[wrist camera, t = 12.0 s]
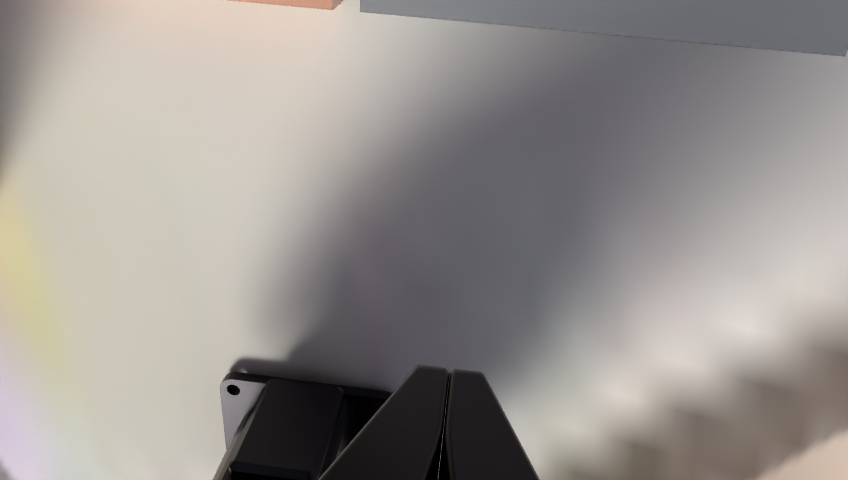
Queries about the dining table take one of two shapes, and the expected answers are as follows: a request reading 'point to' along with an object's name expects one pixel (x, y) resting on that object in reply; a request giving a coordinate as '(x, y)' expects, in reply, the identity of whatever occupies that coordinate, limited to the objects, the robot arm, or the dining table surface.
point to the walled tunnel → (657, 19)
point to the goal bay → (300, 3)
